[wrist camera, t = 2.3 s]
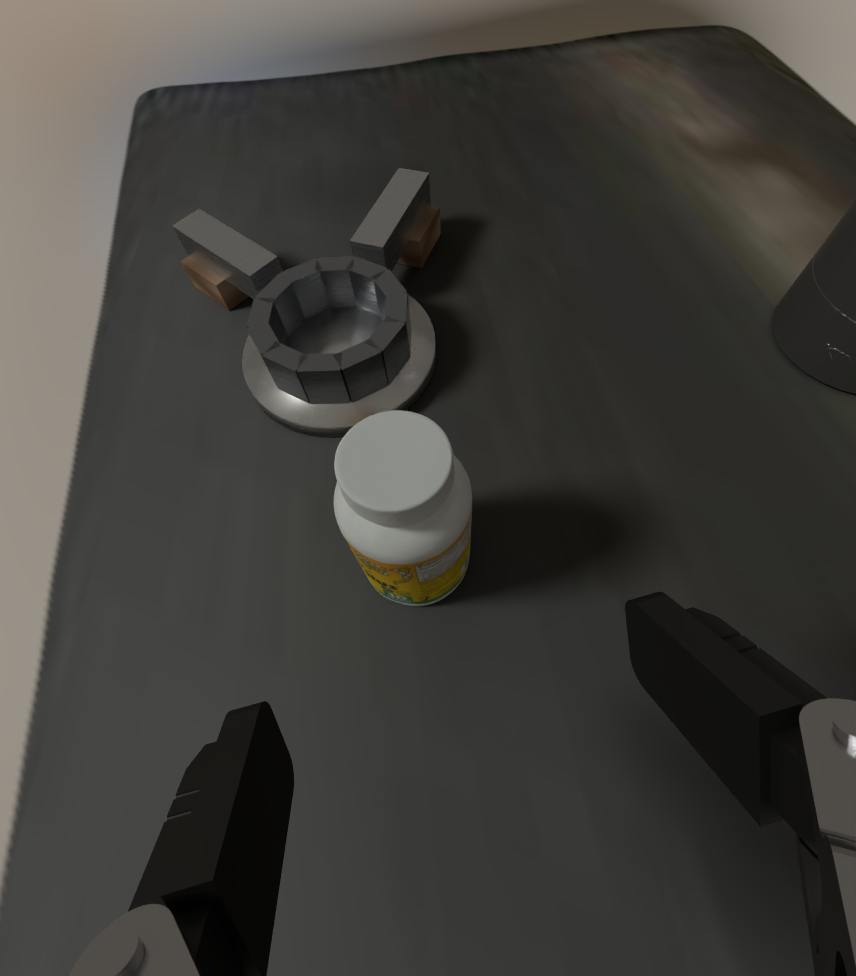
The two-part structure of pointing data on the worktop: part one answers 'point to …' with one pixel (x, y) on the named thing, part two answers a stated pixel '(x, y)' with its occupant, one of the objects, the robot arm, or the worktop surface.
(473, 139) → the worktop surface
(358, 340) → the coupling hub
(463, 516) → the supplement bottle
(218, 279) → the blocks
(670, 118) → the worktop surface
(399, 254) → the angled shafts
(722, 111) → the worktop surface
